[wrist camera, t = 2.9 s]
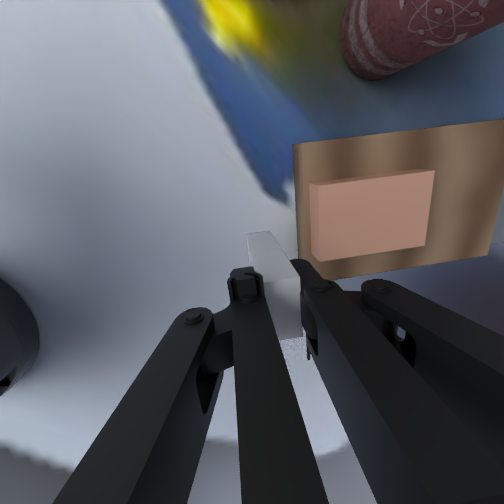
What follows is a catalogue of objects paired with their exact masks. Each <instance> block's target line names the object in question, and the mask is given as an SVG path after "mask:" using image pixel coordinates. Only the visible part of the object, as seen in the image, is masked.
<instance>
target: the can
mask: <svg viewBox="0 0 504 504" xmlns="http://www.w3.org/2000/svg"><path fill="white" fill-rule="evenodd" d="M502 22H504V0H350V2H349V3H348V5H347V7H346V9H345V12H344V15H343V19H342V22H341V28H340V44H341V48H342V53H343V57H344V58H345V60H346V62H347V64H348V66H349V68H350V69H352V70H353V71H354V72H355V73H356V74H357V75H358V76H360V77H363V78H366V79H368V80H378V79H383V78H385V77H388V76H390V75H392V74H394V73H397V72H399V71H401V70H403V69H405V68H407V67H409V66H411V65H413V64H415V63H418V62H420V61H422V60H424V59H426V58H428V57H430V56H432V55H434V54H437V53H439V52H441V51H443V50H445V49H447V48H449V47H451V46H453V45H456V44H458V43H460V42H462V41H464V40H466V39H468V38H470V37H472V36H475V35H477V34H479V33H481V32H483V31H485V30H487V29H489V28H491V27H494V26H496V25H498V24H500V23H502Z"/></svg>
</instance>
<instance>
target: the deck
mask: <svg viewBox="0 0 504 504" xmlns="http://www.w3.org/2000/svg"><path fill="white" fill-rule="evenodd" d="M293 163H294V183H295V202H296V222H297V241H298V259H301V258H302V259H304V260H307V261H309V262H310V263H311V265H312V266H313V267H314V268H315V270H316V271H317V272H318V273H319V274H320V276H321V277H322V278H323V279H326V280H337V279H343V278H349V277H356V276H362V275H368V274H374V273H380V272H387V271H393V270H399V269H405V268H411V267H418V266H423V265H430V264H436V263H442V262H449V261H455V260H461V259H467V258H474V257H480V256H486V255H488V251H489V247H490V243H491V239H492V234H493V230H494V226H495V221H496V217H497V213H498V209H499V204H500V200H501V196H502V191H503V187H504V119H500V120H491V121H483V122H475V123H466V124H458V125H449V126H441V127H433V128H424V129H416V130H407V131H399V132H391V133H382V134H374V135H365V136H357V137H349V138H340V139H332V140H324V141H315V142H307V143H299V144H293ZM413 169H421V170H435V173H434V181H433V188H432V195H431V203H430V210H429V217H428V225H427V232H426V239H425V246H419V247H413V248H406V249H400V250H393V251H387V252H380V253H374V254H367V255H361V256H354V257H348V258H342V259H335V260H329V261H322V262H319V261H318V260H317V259H316V257H315V256H314V255H313V254H312V253H311V225H310V193H309V183H314V182H322V181H330V180H337V179H345V178H353V177H360V176H368V175H375V174H383V173H391V172H398V171H406V170H413Z"/></svg>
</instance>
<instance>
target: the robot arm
mask: <svg viewBox="0 0 504 504" xmlns="http://www.w3.org/2000/svg"><path fill="white" fill-rule="evenodd" d="M246 239H247V247H248V255H249V263H250V267H244V268H238V269H234V270H233V271H232V272H231V273H230V278H228V281H227V284H228V290H229V296H230V305H229V306H228V307H227V308H225V309H224V310H222V311H220V312H218V313H215V314H212V312H211V310H209V309H207V308H201V307H198V308H191V309H188V310H186V311H184V312H183V313H181V314H180V315H179V316H178V317H177V318H176V319H175V320H174V322H173V323H172V325H171V326H170V328H169V329H168V331H167V332H166V334H165V335H164V337H163V338H162V340H161V341H160V343H159V344H158V346H157V347H156V349H155V350H154V352H153V353H152V355H151V356H150V358H149V359H148V361H147V362H146V364H145V365H144V367H143V368H142V370H141V371H140V373H139V374H138V376H137V377H136V379H135V380H134V382H133V383H132V385H131V386H130V388H129V389H128V391H127V392H126V394H125V395H124V397H123V398H122V400H121V401H120V403H119V404H118V406H117V407H116V409H115V410H114V412H113V413H112V415H111V416H110V418H109V419H108V421H107V422H106V424H105V425H104V427H103V428H102V430H101V431H100V433H99V434H98V436H97V437H96V439H95V440H94V442H93V443H92V445H91V446H90V448H89V449H88V451H87V452H86V454H85V455H84V457H83V458H82V460H81V461H80V463H79V464H78V466H77V467H76V469H75V470H74V472H73V473H72V475H71V476H70V478H69V479H68V481H67V483H66V484H65V485H64V487H63V488H62V490H61V491H60V493H59V494H58V496H57V497H56V499H55V500H54V502H53V503H52V504H187V501H188V498H189V494H190V491H191V487H192V484H193V481H194V477H195V474H196V469H197V467H198V463H199V459H200V456H201V453H202V449H203V446H204V442H205V439H206V435H207V432H208V428H209V425H210V421H211V418H212V414H213V411H214V407H215V404H216V400H217V397H218V393H219V390H220V386H221V383H222V379H223V375H224V370H225V369H227V368H230V367H232V366H234V374H235V392H236V409H237V427H238V444H239V462H240V480H241V497H242V504H329V502H328V499H327V496H326V492H325V489H324V486H323V483H322V479H321V476H320V473H319V469H318V466H317V463H316V460H315V457H314V453H313V450H312V447H311V444H310V440H309V437H308V434H307V431H306V427H305V424H304V421H303V418H302V414H301V411H300V408H299V405H298V401H297V398H296V395H295V392H294V388H293V385H292V382H291V379H290V376H289V372H288V369H287V366H286V363H285V359H284V356H283V353H282V350H281V346H280V343H279V340H284V339H290V338H296V337H302V336H303V328H304V330H305V332H306V345H307V359H308V360H310V354H311V355H312V357H313V360H314V362H315V364H316V366H317V369H318V371H319V373H320V375H321V378H322V380H323V382H324V384H325V387H326V389H327V391H328V393H329V396H330V398H331V400H332V402H333V405H334V407H335V409H336V411H337V414H338V416H339V418H340V420H341V423H342V425H343V427H344V429H345V432H346V434H347V436H348V438H349V441H350V443H351V445H352V447H353V450H354V452H355V454H356V456H357V458H358V461H359V463H360V465H361V468H362V470H363V472H364V474H365V477H366V479H367V481H368V484H369V486H370V488H371V490H372V493H373V495H374V497H375V499H376V501H377V504H504V336H502V335H500V334H498V333H496V332H494V331H492V330H490V329H488V328H486V327H484V326H482V325H480V324H478V323H476V322H473V321H471V320H469V319H467V318H465V317H463V316H461V315H459V314H457V313H455V312H453V311H451V310H449V309H447V308H445V307H443V306H441V305H439V304H437V303H435V302H433V301H431V300H429V299H427V298H425V297H423V296H420V295H418V294H416V293H414V292H412V291H410V290H408V289H406V288H404V287H402V286H400V285H398V284H396V283H394V282H391V281H387V280H383V279H373V280H367V281H365V282H364V283H363V284H362V285H361V291H343V290H342V289H341V287H340V286H339V285H338V284H337V283H335V282H334V281H331V280H326V279H323V278H322V277H321V276H320V274H319V273H318V272H317V271H316V270H315V268H314V267H313V266H312V265H311V263H310V262H309V261H307V260H304V259H302V258H301V259H294V260H289V259H288V258H287V256H286V255H285V253H284V252H283V250H282V248H281V247H280V245H279V244H278V242H277V241H276V239H275V238H274V236H273V234H272V233H271V231H264V232H257V233H250V234H246ZM302 325H303V326H302ZM398 326H399V327H401V328H402V329H404V330H405V331H406V334H405V339H402V338H400V337H399V336H397V329H398ZM38 347H39V334H38V329H37V325H36V322H35V320H34V317H33V315H32V313H31V312H30V310H29V308H28V307H27V305H26V304H25V303H24V301H23V300H22V299H21V298H20V297H19V295H18V294H17V293H16V292H15V291H14V290H12V289H11V288H10V287H9V286H8V285H7V284H5V283H4V282H3V281H1V280H0V396H2V395H3V394H4V393H6V392H7V391H8V390H9V389H10V388H11V387H12V386H13V385H14V384H15V383H16V382H17V381H18V380H19V379H20V378H21V376H22V375H23V374H24V373H25V372H26V371H27V370H28V369H29V367H30V366H31V365H32V363H33V361H34V360H35V357H36V355H37V351H38Z"/></svg>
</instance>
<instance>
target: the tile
mask: <svg viewBox="0 0 504 504" xmlns="http://www.w3.org/2000/svg"><path fill="white" fill-rule="evenodd" d="M434 173H435V170H421V169H413V170H406V171H398V172H391V173H383V174H375V175H368V176H360V177H353V178H345V179H337V180H330V181H322V182H314V183H309V193H310V225H311V253H312V254H313V255H314V256H315V257H316V259H317V260H318V261H319V262H322V261H329V260H335V259H342V258H348V257H354V256H361V255H367V254H374V253H380V252H387V251H393V250H400V249H406V248H413V247H419V246H425V239H426V232H427V225H428V217H429V210H430V203H431V195H432V188H433V181H434Z"/></svg>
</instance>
